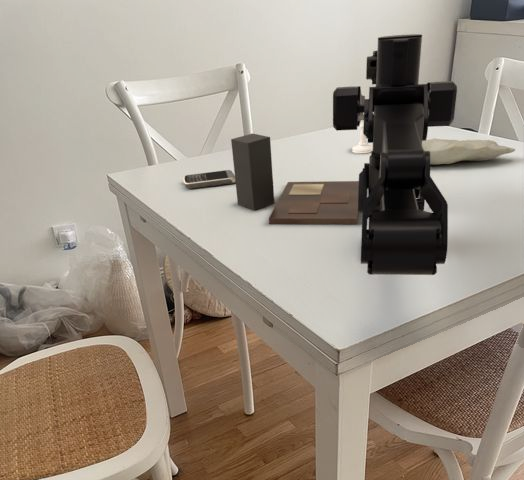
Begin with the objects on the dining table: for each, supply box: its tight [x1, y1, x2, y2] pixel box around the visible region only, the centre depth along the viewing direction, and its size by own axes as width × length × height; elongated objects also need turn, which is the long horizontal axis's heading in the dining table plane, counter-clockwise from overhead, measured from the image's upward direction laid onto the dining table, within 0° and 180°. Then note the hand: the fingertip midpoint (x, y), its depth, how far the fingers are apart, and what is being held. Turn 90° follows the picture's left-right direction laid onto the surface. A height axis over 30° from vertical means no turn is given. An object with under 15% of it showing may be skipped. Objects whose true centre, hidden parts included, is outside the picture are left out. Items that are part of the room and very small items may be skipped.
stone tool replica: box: [422, 138, 516, 166], centre depth 113 cm, size 15×5×25 cm
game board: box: [268, 180, 360, 225], centre depth 99 cm, size 20×15×1 cm
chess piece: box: [351, 113, 373, 154], centre depth 124 cm, size 5×5×10 cm
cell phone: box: [182, 169, 236, 190], centre depth 115 cm, size 6×11×1 cm, turn 99°
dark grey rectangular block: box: [230, 132, 275, 211], centre depth 99 cm, size 5×5×12 cm
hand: (391, 98), depth 92 cm, fingers open, 9 cm apart
